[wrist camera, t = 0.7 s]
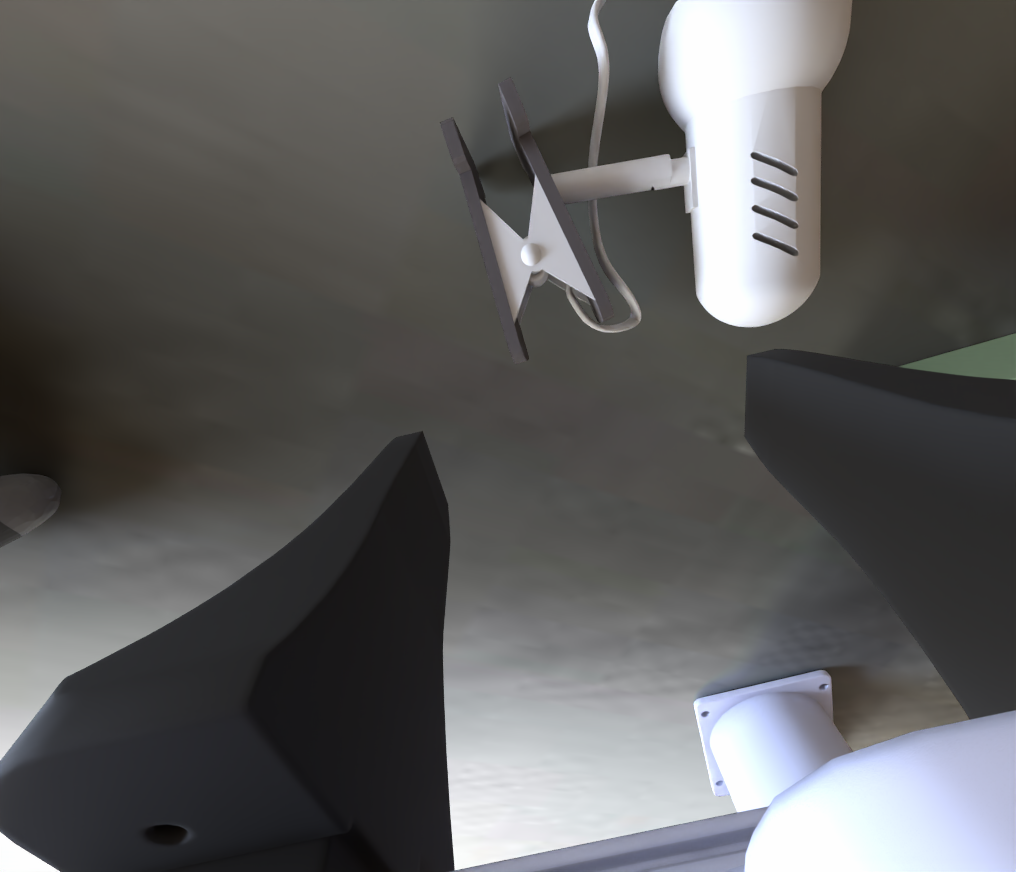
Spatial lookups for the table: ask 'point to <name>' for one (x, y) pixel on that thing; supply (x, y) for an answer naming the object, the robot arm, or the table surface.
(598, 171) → the clip-on lamp
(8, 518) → the gaming controller
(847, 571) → the table surface
